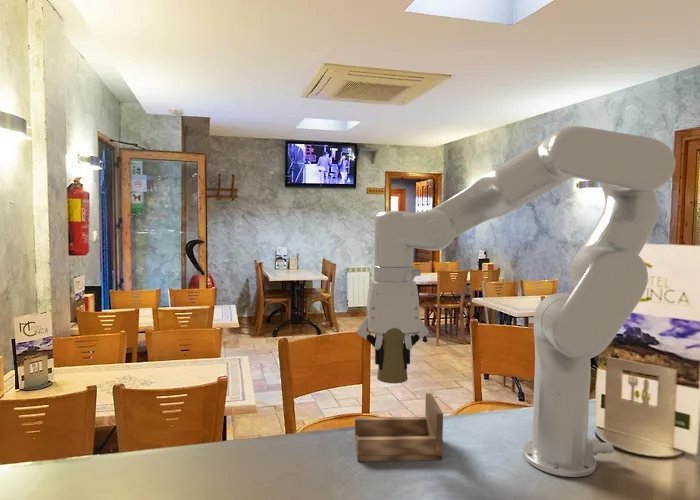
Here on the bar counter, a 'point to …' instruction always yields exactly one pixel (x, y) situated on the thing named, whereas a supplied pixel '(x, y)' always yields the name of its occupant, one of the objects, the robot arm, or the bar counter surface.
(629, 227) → the robot arm
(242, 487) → the bar counter surface
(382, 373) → the cork
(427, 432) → the walnut drawer
